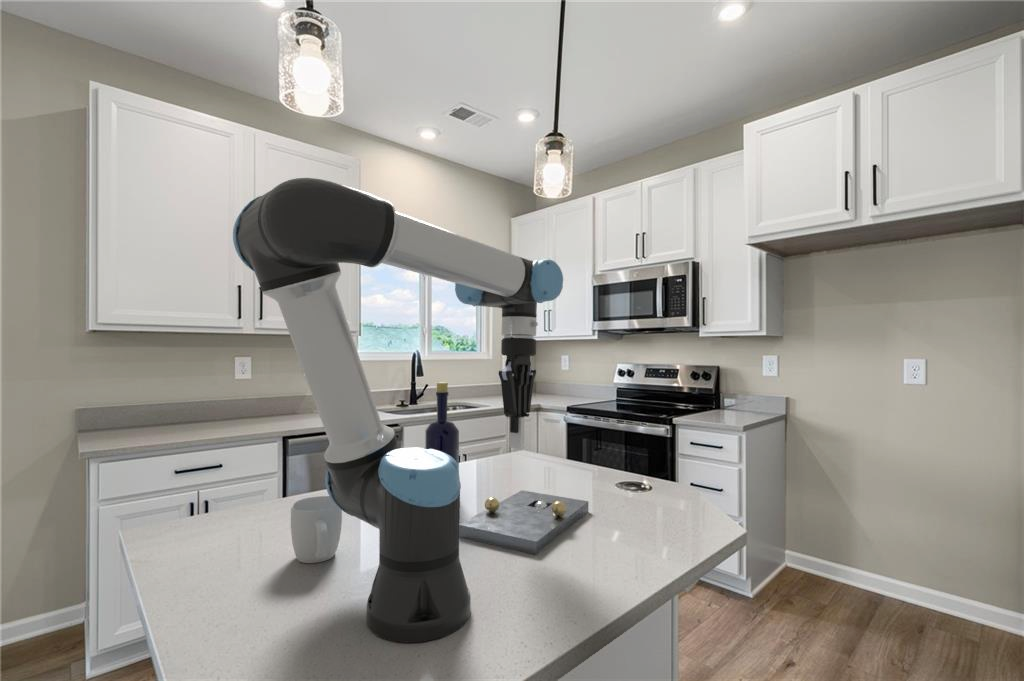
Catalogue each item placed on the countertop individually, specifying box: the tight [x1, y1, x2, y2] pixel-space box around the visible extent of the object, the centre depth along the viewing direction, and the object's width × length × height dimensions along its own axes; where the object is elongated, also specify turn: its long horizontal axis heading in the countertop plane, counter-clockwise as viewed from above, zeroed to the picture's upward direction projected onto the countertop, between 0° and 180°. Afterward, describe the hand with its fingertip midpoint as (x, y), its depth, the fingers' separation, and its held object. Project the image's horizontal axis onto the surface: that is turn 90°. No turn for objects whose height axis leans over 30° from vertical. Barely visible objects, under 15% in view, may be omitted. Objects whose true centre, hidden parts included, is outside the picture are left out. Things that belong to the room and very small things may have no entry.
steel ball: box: [534, 501, 548, 509], centre depth 116 cm, size 3×3×3 cm
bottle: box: [424, 381, 460, 469], centre depth 128 cm, size 9×9×30 cm
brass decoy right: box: [551, 501, 566, 517], centre depth 109 cm, size 3×3×3 cm
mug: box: [290, 495, 343, 564], centre depth 92 cm, size 13×9×10 cm
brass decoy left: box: [484, 497, 500, 512], centre depth 111 cm, size 3×3×3 cm
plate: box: [459, 490, 589, 556], centre depth 111 cm, size 28×18×2 cm, turn 151°
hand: (516, 447), depth 107 cm, fingers closed
